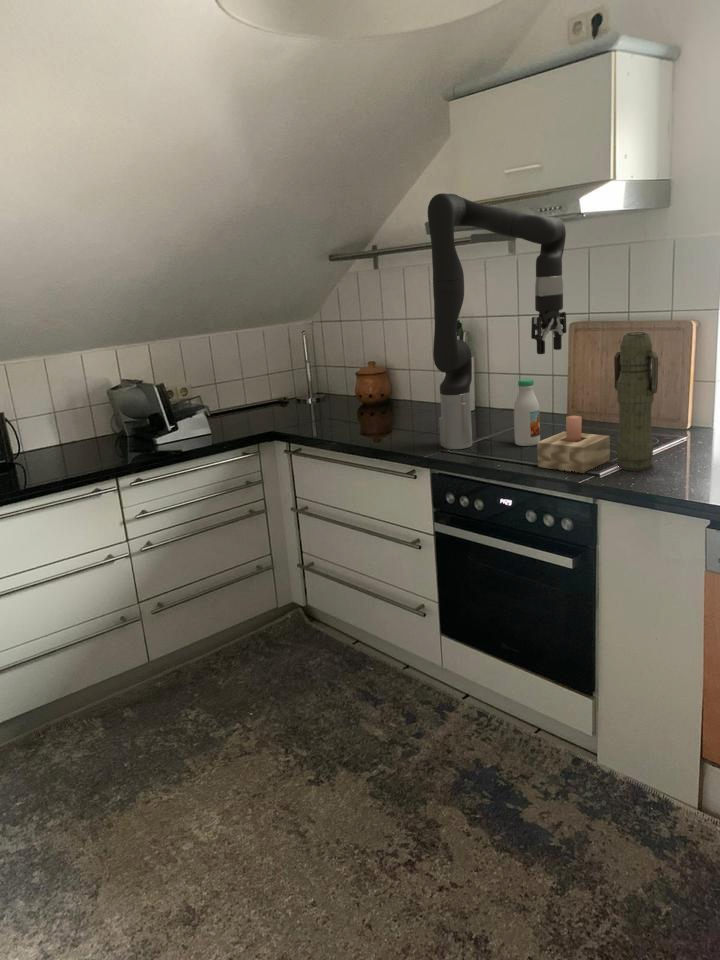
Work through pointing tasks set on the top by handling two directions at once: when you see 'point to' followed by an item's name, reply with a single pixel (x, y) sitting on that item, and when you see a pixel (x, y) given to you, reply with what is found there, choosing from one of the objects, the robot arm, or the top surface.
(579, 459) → the bore block
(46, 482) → the top surface
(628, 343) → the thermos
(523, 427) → the milk bottle
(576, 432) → the dowel pin
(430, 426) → the top surface
